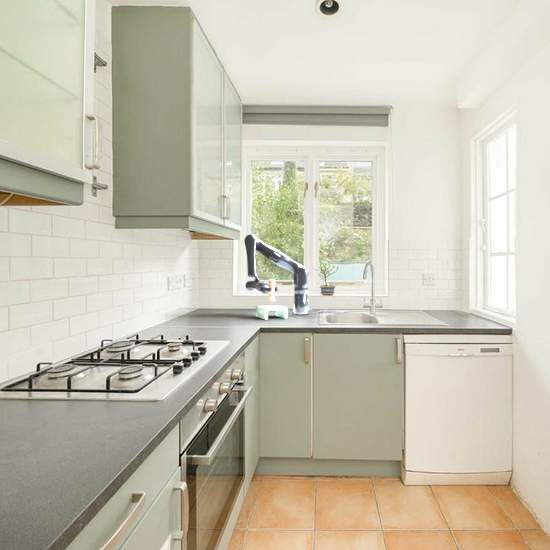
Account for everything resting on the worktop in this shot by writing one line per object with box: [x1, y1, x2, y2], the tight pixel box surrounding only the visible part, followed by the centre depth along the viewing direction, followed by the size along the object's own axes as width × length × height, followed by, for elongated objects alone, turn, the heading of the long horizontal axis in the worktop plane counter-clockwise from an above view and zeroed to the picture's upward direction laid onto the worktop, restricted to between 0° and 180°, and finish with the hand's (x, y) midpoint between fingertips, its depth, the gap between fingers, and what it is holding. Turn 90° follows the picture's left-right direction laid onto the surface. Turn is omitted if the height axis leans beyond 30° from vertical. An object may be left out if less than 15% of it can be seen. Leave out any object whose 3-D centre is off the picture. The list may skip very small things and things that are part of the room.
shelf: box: [255, 304, 289, 320], centre depth 299 cm, size 16×14×7 cm
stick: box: [267, 278, 277, 302], centre depth 299 cm, size 5×5×14 cm
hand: (273, 289), depth 296 cm, fingers closed on stick, 3 cm apart
